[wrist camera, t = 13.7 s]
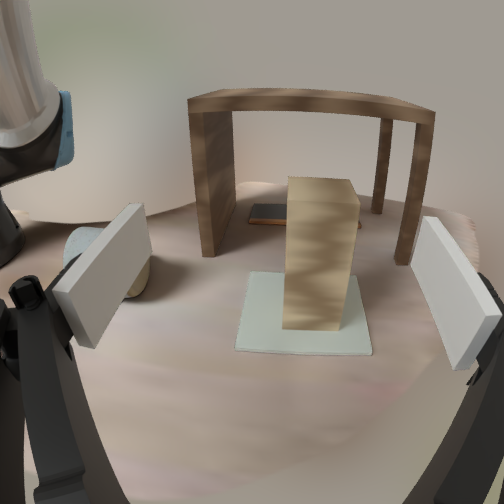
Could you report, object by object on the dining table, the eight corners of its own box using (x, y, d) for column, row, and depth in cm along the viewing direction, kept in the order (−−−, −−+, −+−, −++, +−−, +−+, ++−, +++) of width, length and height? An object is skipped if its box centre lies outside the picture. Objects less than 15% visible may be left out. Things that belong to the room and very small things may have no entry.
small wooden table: (202, 256, 38) (187, 99, 29) (227, 203, 52) (220, 89, 42) (407, 265, 36) (435, 111, 26) (379, 209, 49) (391, 97, 39)
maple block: (282, 329, 27) (287, 200, 21) (284, 293, 32) (288, 176, 25) (338, 331, 27) (360, 204, 21) (334, 295, 31) (349, 179, 25)
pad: (234, 350, 26) (234, 347, 26) (250, 274, 35) (250, 271, 35) (371, 355, 25) (372, 352, 24) (355, 278, 34) (356, 275, 34)
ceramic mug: (137, 313, 30) (119, 248, 26) (75, 306, 31) (53, 248, 27) (165, 258, 39) (155, 202, 35) (110, 257, 39) (97, 205, 35)
